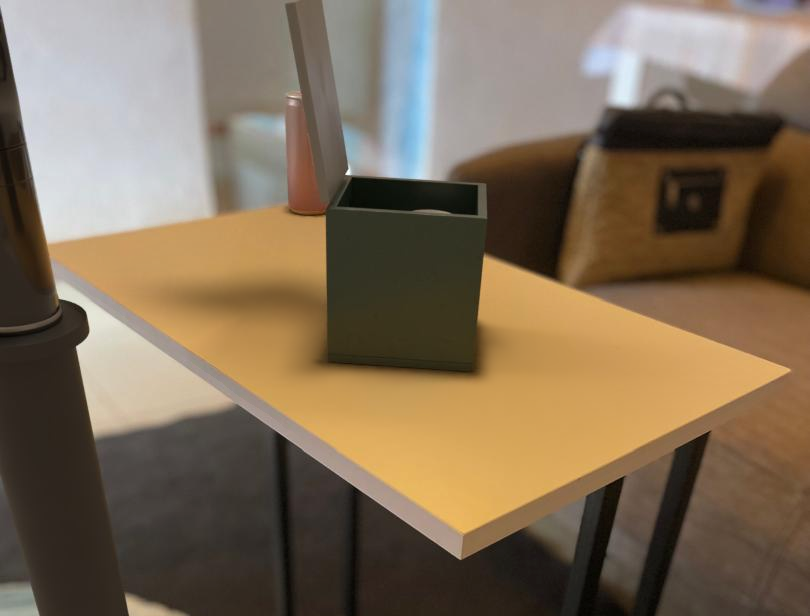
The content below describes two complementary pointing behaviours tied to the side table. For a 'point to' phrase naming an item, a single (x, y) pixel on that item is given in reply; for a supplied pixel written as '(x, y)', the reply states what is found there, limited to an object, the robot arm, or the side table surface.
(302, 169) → the beverage can
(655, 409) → the side table surface
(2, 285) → the robot arm
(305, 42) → the bin lid
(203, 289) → the side table surface
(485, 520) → the side table surface
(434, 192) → the trash bin
